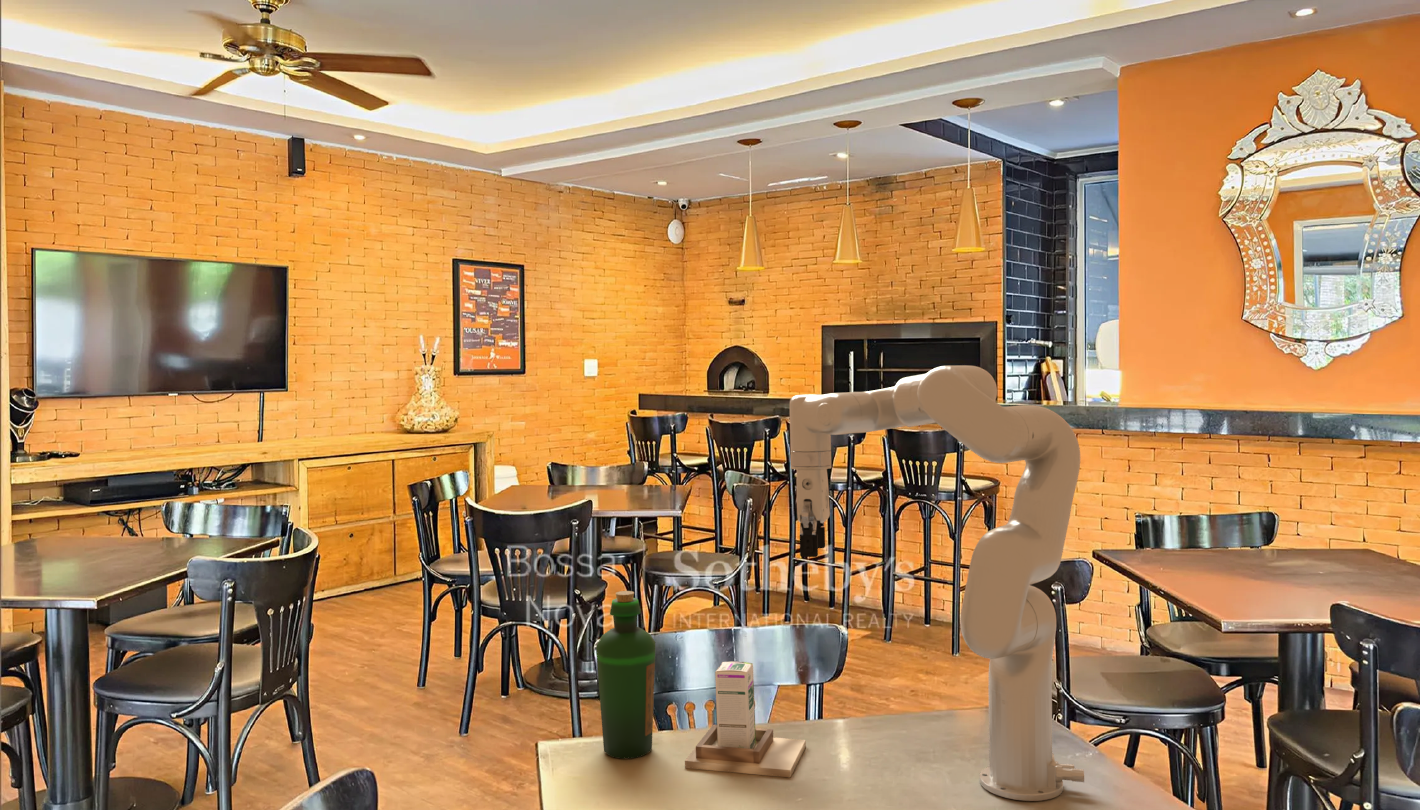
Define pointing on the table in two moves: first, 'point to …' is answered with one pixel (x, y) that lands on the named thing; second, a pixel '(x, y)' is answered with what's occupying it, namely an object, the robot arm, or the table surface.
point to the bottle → (626, 681)
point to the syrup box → (735, 705)
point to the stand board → (748, 755)
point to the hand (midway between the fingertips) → (812, 552)
